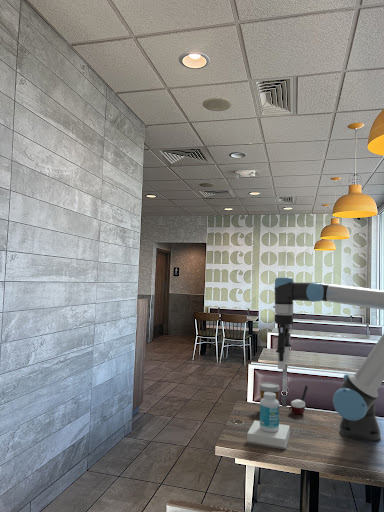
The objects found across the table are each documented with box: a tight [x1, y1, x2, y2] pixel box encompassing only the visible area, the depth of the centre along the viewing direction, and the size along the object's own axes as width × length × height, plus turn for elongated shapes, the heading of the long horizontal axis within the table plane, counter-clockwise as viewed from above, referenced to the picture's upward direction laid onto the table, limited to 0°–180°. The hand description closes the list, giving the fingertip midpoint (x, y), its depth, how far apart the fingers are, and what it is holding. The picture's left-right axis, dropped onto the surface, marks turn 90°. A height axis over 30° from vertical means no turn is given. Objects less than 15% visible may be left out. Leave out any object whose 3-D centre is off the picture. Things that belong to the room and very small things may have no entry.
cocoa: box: [288, 385, 309, 416], centre depth 174 cm, size 10×6×12 cm, turn 86°
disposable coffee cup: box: [258, 381, 281, 401], centre depth 177 cm, size 10×10×12 cm
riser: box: [246, 420, 291, 450], centre depth 146 cm, size 14×14×4 cm
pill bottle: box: [259, 392, 280, 432], centre depth 146 cm, size 8×7×14 cm
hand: (283, 365), depth 157 cm, fingers open, 13 cm apart
